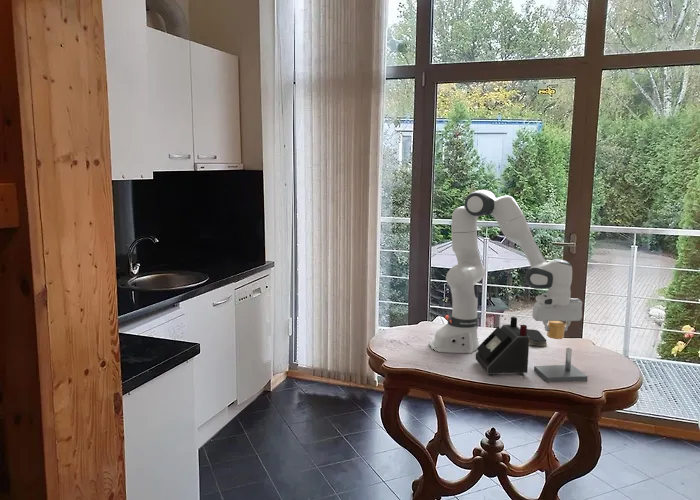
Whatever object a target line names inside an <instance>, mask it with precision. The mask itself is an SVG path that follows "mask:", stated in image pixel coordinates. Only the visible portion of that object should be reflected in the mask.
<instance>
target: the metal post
mask: <svg viewBox="0 0 700 500" xmlns="http://www.w3.org/2000/svg"><path fill="white" fill-rule="evenodd" d="M572 352H573V349H572V348H570V347H566V349H565V362H564V365H565V371H567V372H570V368H571V365H572Z"/></svg>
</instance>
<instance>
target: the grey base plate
mask: <svg viewBox="0 0 700 500" xmlns="http://www.w3.org/2000/svg"><path fill="white" fill-rule="evenodd" d="M533 371H534V372H535V374H537V375H538V377H541V378H542V379H543V380H544V381H545V382H546V383H569V382H570V383H572V382H574V381H575V382H587V381H588V375H587V374H585V373H584V372H583V371H581V370H580V369H579V368H577V367H576V366H575V365H573V364H571V368H570V372H567V371H565V364H554V365H534V368H533Z"/></svg>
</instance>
